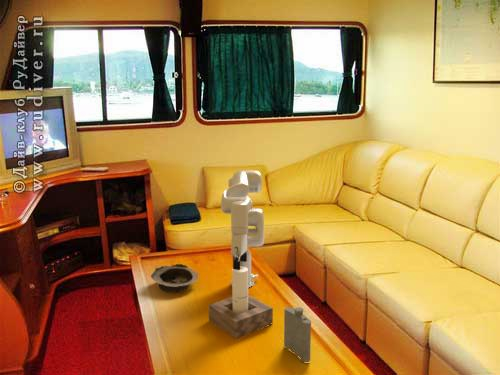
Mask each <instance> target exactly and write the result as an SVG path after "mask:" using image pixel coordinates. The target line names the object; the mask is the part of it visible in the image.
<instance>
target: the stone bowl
mask: <svg viewBox="0 0 500 375" xmlns="http://www.w3.org/2000/svg"><path fill="white" fill-rule="evenodd" d="M150 278H151V279H152V280H153V281H154V282H155V283H156V284H158V287H159V289H160V290H161V291H163V292H165V293H180V292H183V291H187V289H188V288H189V287H190V286H191V285H192V284H194V283H196V282H197V280H199V273H198V272H197V271H196V270H194V269H192V268H189V266H187V265H185V264H182V263H180V264H179V263H176V264H174V265H173V264H172V265H171V266H169V265H162V266H160V267H157V268H155V269H154V271H153V273H151V274H150Z"/></svg>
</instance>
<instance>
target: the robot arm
mask: <svg viewBox="0 0 500 375" xmlns="http://www.w3.org/2000/svg"><path fill="white" fill-rule="evenodd" d="M261 174H262V173H261V172H260V171H258V170H238V171H235V172H234V173H233V176H232V177H231V178H229V179H228V188H226V189H225V190H224V191H223V193H222V195H221V198H220V199H221V200H220V201H221V202H220V210H221V212H222V213H223V214H229V215H230V231H231V232H230V233H231V240H230V255H231V256H232V269H235V270H240V266H242V267H246V268H248V289H250V288H252V287H253V286H254V285H255V281H254V279H258V278H259V274H253V273H252V252H251V251H250V249H249V248H248V247H262V246H263V245H264V243H265V215H264V211H263V209H261V208H257V207H255V208H253V206H254V204H253V201H252V199H251V198H250V197H249V194H258V193H261V191H262V189H263V176H262V175H261ZM249 227H255V228H249ZM230 286H231V287H232V280H231V281H230ZM251 286H252V287H251ZM249 287H250V288H249Z"/></svg>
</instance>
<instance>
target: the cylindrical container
mask: <svg viewBox="0 0 500 375" xmlns="http://www.w3.org/2000/svg"><path fill="white" fill-rule="evenodd" d="M231 272H232V273H231V274H232V275H231V278H232V279H231V281H232V286H231V287H232V289H231V292H232V296H231V297H232V298H233V312H235V313H237V314H240V313H243V312H246V311H248V295H249V288H248V268H246V267H242V266H240V270H235V269H233V268H232V269H231Z"/></svg>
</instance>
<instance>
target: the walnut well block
mask: <svg viewBox="0 0 500 375" xmlns="http://www.w3.org/2000/svg"><path fill="white" fill-rule="evenodd" d="M273 317H274V308H273V307H272V306H270V305H268V304H266V303H264V302H263V301H261V300H258V299H257V298H255V297H253V296H251V295H249V294H248V311H246V312H243V313H240V314H237V313H235V312H233V298H232V296H231V297H228V298H226V299H222V300H219V301H217V302H213V303H211V304H208V321H209V322H210V323H211V324H212V325H215V326H216V327H217V328H219V329H220V330H223V332H225V333H227V335H229V336H231V337H232V338H234V339H239V338H242V337H244V336H246V335H249V334H252V333H254V332H256V331H259V330H262V329H264V328H266V327H265V326H267V325H269V324H271V323H273V324H274V322H273V320H274V318H273ZM269 326H270V325H269ZM263 327H264V328H263ZM267 327H268V326H267ZM261 328H262V329H261ZM258 329H259V330H258Z"/></svg>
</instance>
